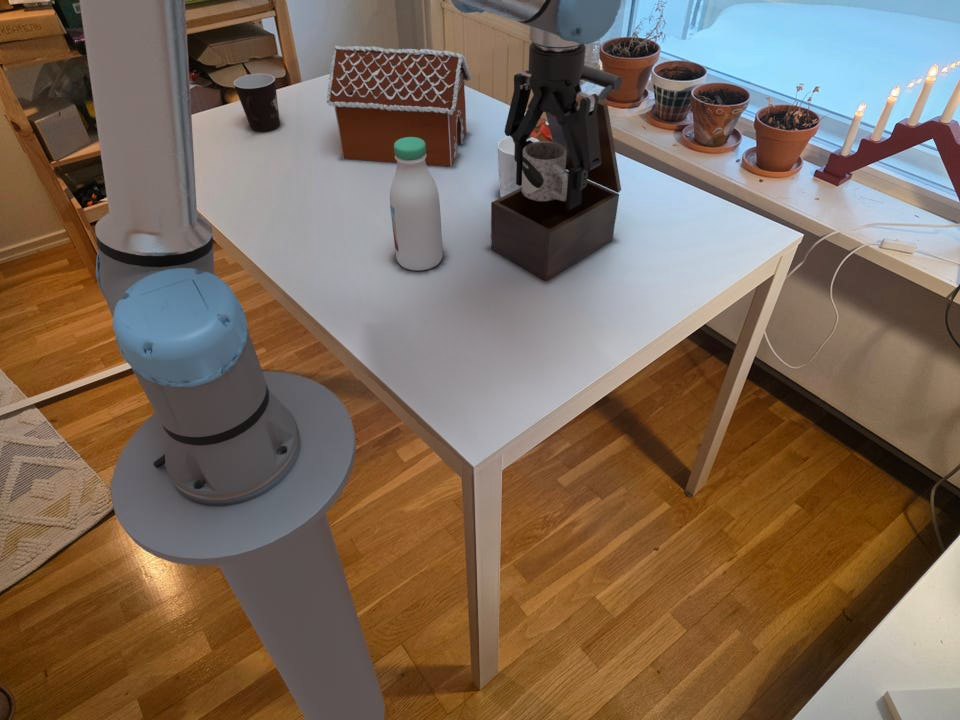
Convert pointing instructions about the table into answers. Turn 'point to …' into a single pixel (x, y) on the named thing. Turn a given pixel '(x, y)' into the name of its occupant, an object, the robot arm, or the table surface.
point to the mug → (544, 171)
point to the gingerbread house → (398, 101)
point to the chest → (552, 229)
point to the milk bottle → (415, 208)
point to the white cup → (508, 165)
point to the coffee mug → (259, 101)
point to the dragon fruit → (542, 131)
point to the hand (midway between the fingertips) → (547, 193)
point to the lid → (608, 168)
